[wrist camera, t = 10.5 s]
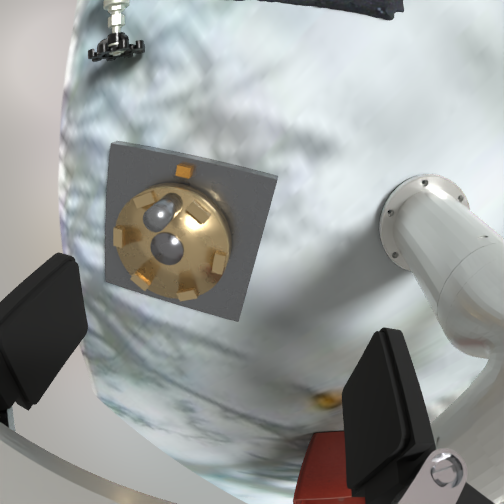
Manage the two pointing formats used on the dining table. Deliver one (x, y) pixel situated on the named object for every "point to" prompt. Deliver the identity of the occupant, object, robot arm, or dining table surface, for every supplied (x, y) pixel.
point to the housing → (211, 184)
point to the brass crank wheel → (173, 241)
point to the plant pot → (324, 472)
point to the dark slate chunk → (354, 6)
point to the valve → (116, 36)
